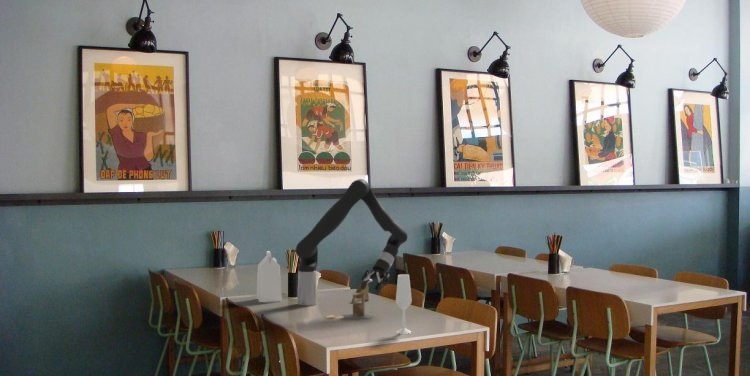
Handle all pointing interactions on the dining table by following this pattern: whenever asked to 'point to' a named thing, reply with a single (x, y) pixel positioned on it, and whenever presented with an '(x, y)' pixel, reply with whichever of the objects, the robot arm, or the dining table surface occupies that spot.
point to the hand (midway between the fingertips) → (368, 289)
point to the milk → (269, 280)
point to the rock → (363, 291)
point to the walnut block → (358, 304)
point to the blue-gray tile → (350, 315)
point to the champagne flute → (403, 298)
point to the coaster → (333, 317)
